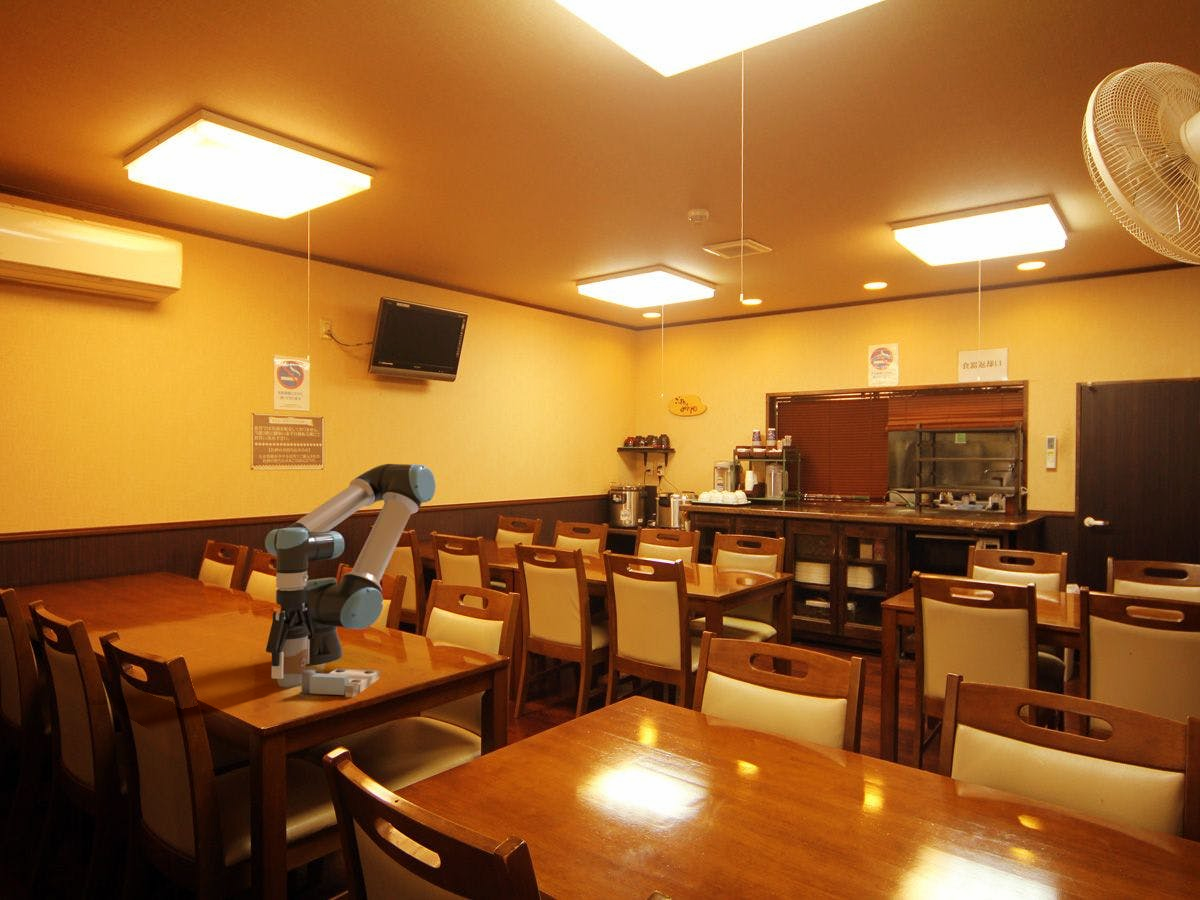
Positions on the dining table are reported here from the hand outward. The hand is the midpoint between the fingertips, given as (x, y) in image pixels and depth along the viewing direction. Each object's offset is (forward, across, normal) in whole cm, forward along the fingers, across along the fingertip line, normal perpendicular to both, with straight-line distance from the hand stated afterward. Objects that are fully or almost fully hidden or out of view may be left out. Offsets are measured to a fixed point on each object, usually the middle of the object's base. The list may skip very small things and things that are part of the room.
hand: (291, 670), depth 195 cm
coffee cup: (+4, 0, 0) cm, 4 cm away
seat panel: (+4, +1, -15) cm, 15 cm away
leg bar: (+4, -7, -8) cm, 12 cm away
